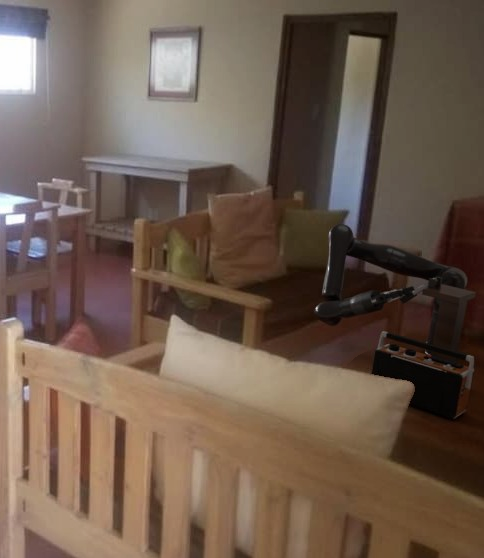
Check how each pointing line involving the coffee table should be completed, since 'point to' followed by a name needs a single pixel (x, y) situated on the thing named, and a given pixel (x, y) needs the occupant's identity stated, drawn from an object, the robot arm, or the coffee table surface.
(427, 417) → the coffee table surface
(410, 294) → the lever
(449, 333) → the stand
